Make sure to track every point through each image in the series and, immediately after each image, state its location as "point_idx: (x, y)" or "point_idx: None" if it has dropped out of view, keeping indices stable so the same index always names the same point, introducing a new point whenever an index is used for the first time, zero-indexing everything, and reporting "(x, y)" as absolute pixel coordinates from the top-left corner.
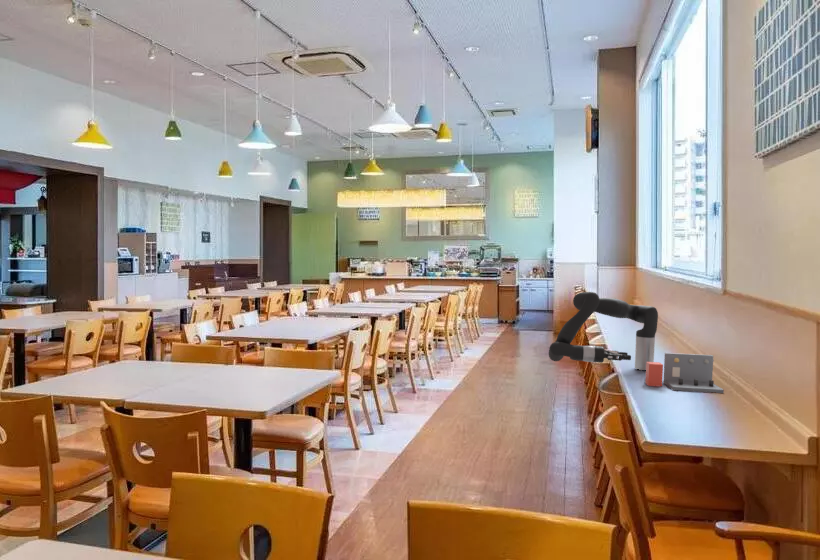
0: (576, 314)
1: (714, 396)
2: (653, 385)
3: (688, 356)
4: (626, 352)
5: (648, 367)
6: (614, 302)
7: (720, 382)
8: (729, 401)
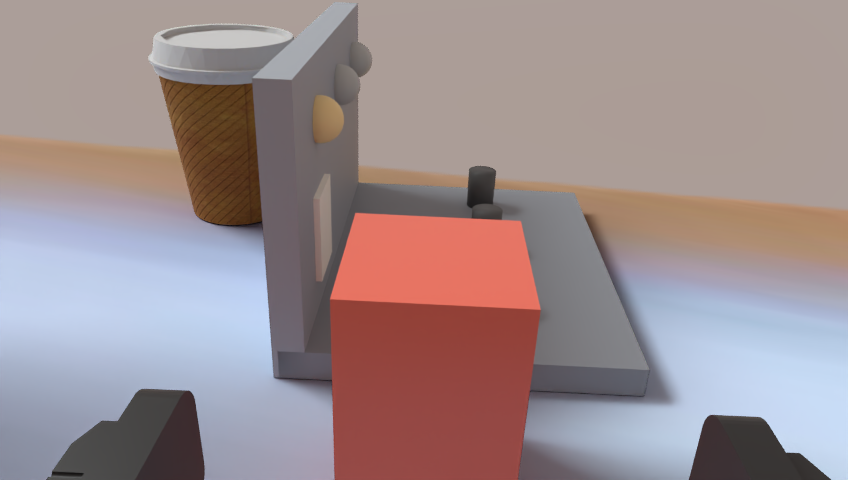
0: None
1: (707, 256)
2: None
3: (333, 51)
4: (139, 392)
5: (496, 359)
6: None
7: None
8: (811, 240)
